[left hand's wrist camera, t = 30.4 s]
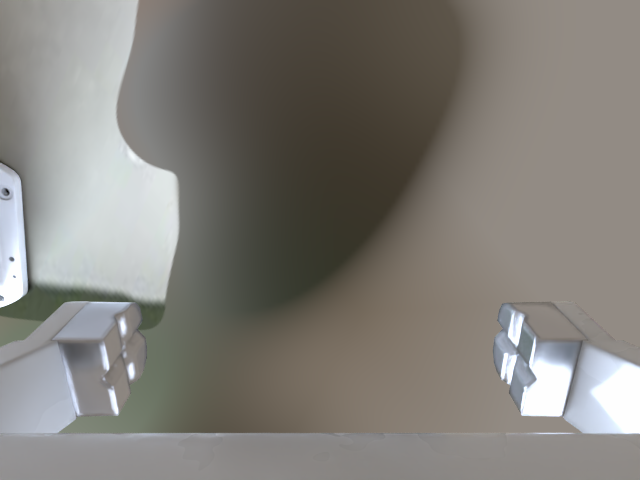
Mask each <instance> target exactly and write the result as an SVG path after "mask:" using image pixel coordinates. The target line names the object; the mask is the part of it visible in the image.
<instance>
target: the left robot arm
mask: <svg viewBox="0 0 640 480" xmlns="http://www.w3.org/2000/svg"><path fill="white" fill-rule="evenodd" d="M6 189H8V190H9V192H10V194H8V193H7V192H6ZM27 292H28V278H27V263H26V248H25V233H24V218H23V203H22V188H21V180H20V177H19V175H18V174H17V173H16V172H15V171H14V170H12V169H11V168H9V167H7V166H6V165H4V164H2V163H0V307H2V306H5V305H8V304H11V303H13V302H15V301H16V300H18V299H20V298H21V297H23V296H24V295H25V294H26V293H27ZM1 295H2V296H4V298H3V297H2V296H1ZM141 322H142V315H141V310H140V307H139V306H138V305H137V303H125V302H90V301H86V302H66V303H64V304H63V305H62V306H61V307H59V308H58V309H57V310H56V311H55V312H54V313H53V314H52V315H51V316H50V317H49V318H48V319H47V320H46V321H44V322H43V323H42V324H41V325H40V326H39V327H38V328H37V329H36V330H35V331H34V332H33V333H32V334H30V335H29V336H28V337H27V338H26V339H25V340H24V341H14V342H12V343H10V344H7V345H5V346H2V347H0V480H640V347H638V346H635V345H633V344H631V343H628V342H626V341H616V340H615V339H614V338H613V337H612V336H611V335H610V334H609V333H607V332H606V331H605V330H604V329H603V328H602V327H601V326H600V325H599V324H598V323H597V322H596V321H595V320H594V319H592V318H591V317H590V316H589V315H588V314H587V313H586V312H585V311H584V310H583V309H582V308H581V307H580V306H578V305H577V304H576V303H574V302H571V301H566V302H524V303H504V304H502V306H501V308H500V310H499V315H498V322H499V323H500V325H501V327H502V328H503V329H502V330H501V331H500V332H499V334H498V335H497V336H496V337H495V339H494V346H493V356H494V364H495V367H496V370H497V373H498V374H499V376H500V378H501V379H502V380H503V381H505V382H506V383H508V384H510V390H509V394H510V396H511V397H512V399H513V401H514V403H515V404H516V406H517V408H518V409H519V411H520V413H521V415H525V416H562V417H564V419H565V420H566V421H568V422H569V423H570V424H572V425H573V426H575V427H576V428H577V429H578V430H580V431H581V432H582V433H58V432H59V431H60V430H62V429H63V428H64V427H66V426H67V425H68V424H70V423H71V422H72V421H74V420H75V419H76V417H78V416H113V415H119V413H120V411H121V410H122V408H123V406H124V404H125V403H126V401H127V399H128V397H129V396H130V394H131V391H130V384H132V383H134V382H135V381H137V380H138V379H139V378H140V376H141V374H142V373H143V371H144V367H145V363H146V359H147V345H146V338H145V337H144V336H143V335H142V334H141V333H140V331H139V330H138V329H137V328H138V327H139V325H140V323H141Z"/></svg>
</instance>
